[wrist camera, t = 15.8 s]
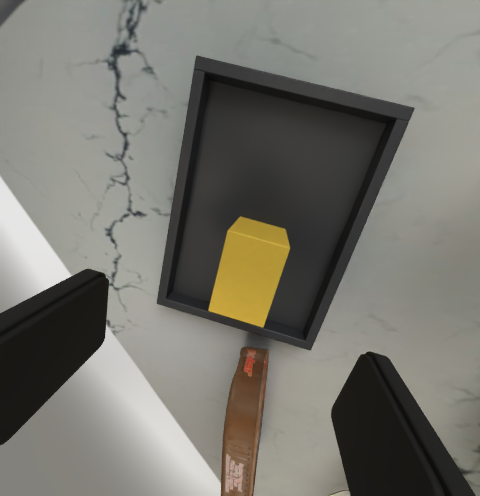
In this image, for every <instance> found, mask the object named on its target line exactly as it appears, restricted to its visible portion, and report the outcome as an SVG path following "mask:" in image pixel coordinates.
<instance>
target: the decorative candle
mask: <svg viewBox="0 0 480 496" xmlns="http://www.w3.org/2000/svg"><path fill="white" fill-rule="evenodd" d="M330 496H350V492H349V491H341V492H338V493H335V494H333V495H330Z"/></svg>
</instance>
